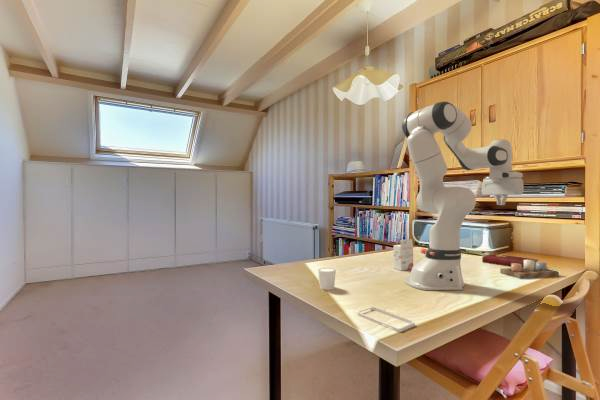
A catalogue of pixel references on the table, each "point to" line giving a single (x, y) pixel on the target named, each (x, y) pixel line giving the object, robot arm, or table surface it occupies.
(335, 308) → the table surface
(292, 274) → the table surface
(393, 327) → the beige elongated ring
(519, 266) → the terracotta button
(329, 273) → the shot glass
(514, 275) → the button board
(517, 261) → the hardcover book
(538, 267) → the slate-grey button
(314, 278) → the table surface
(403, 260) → the ink cartridge box
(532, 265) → the cream button
